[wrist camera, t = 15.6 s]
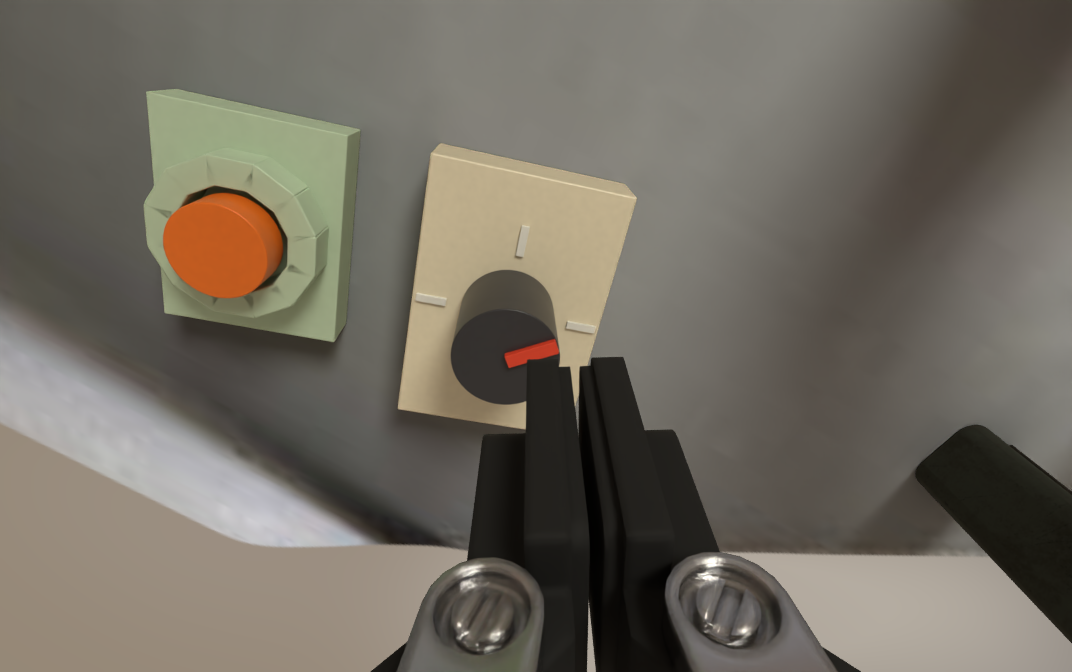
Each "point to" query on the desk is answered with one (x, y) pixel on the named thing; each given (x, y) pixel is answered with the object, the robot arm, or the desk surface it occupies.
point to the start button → (223, 245)
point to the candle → (1009, 514)
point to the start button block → (274, 184)
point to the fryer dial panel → (507, 265)
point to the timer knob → (502, 335)
